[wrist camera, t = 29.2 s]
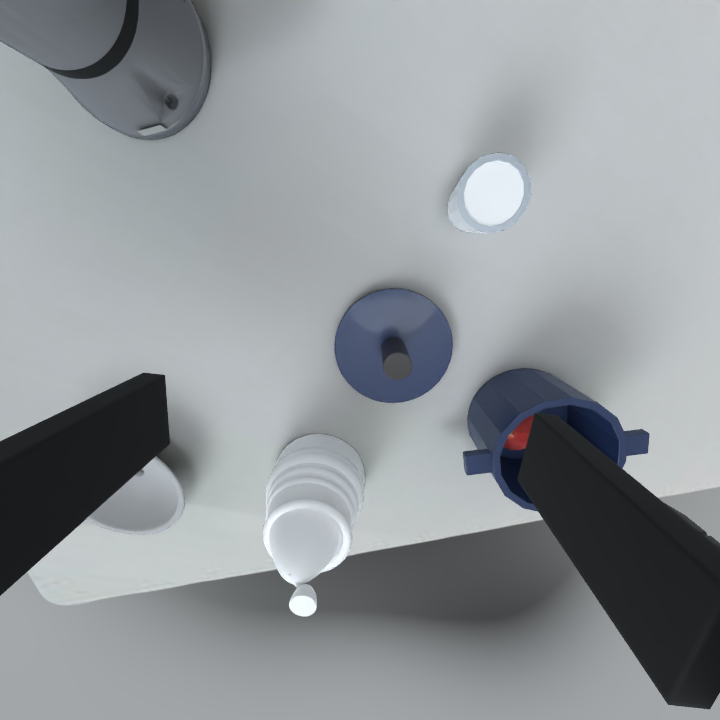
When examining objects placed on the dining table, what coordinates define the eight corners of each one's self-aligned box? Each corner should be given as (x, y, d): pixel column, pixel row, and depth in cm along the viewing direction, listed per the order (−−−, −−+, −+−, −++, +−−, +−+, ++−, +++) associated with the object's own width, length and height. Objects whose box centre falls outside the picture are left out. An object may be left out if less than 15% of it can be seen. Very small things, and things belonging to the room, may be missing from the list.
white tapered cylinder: (499, 239, 39) (525, 233, 32) (439, 237, 39) (453, 232, 32) (507, 172, 37) (538, 152, 30) (444, 171, 37) (460, 151, 30)
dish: (211, 444, 47) (193, 464, 43) (192, 522, 51) (174, 549, 47) (87, 405, 46) (55, 422, 42) (78, 488, 50) (47, 512, 45)
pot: (442, 379, 44) (462, 412, 34) (593, 357, 42) (659, 385, 32) (451, 469, 47) (472, 521, 38) (591, 452, 46) (649, 502, 36)
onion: (508, 447, 44) (494, 466, 38) (486, 407, 46) (469, 420, 39) (552, 431, 41) (546, 450, 35) (528, 389, 43) (517, 399, 36)
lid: (325, 298, 41) (313, 307, 33) (444, 278, 40) (463, 282, 32) (346, 406, 45) (340, 438, 37) (455, 391, 44) (474, 421, 36)
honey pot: (380, 489, 49) (385, 614, 31) (306, 523, 51) (272, 658, 33) (335, 418, 46) (314, 513, 28) (258, 457, 48) (194, 568, 30)
